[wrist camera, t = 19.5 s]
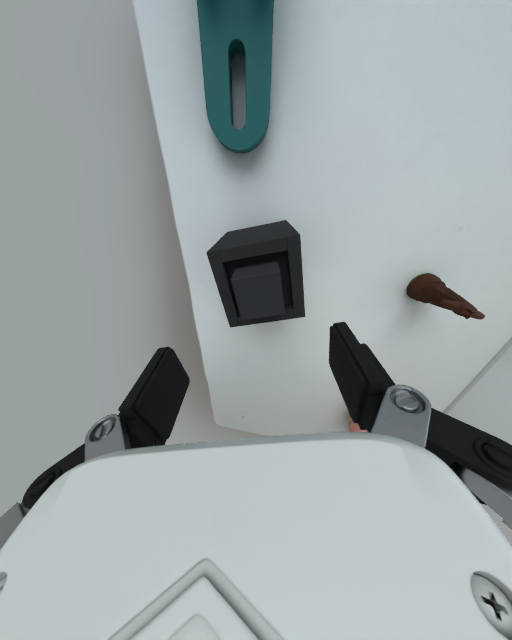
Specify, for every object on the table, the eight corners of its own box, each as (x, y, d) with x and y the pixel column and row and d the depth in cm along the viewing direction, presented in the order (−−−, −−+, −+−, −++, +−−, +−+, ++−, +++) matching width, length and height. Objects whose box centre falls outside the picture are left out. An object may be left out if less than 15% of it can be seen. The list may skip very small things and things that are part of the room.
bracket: (189, -161, 14) (127, -464, 8) (279, -162, 14) (293, -471, 8) (214, 153, 24) (195, 136, 18) (267, 153, 24) (269, 137, 17)
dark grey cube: (235, 266, 21) (230, 279, 17) (277, 258, 20) (279, 271, 17) (244, 302, 23) (241, 320, 20) (282, 296, 23) (285, 314, 19)
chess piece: (418, 270, 31) (475, 297, 23) (445, 277, 32) (511, 306, 23) (400, 295, 34) (446, 327, 25) (426, 301, 34) (479, 335, 26)
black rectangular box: (226, 232, 29) (206, 252, 19) (286, 220, 28) (300, 234, 17) (240, 286, 34) (230, 327, 23) (291, 278, 33) (305, 317, 22)
